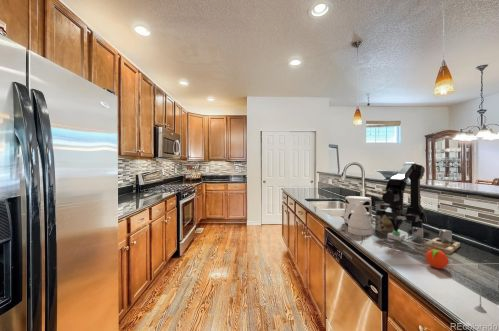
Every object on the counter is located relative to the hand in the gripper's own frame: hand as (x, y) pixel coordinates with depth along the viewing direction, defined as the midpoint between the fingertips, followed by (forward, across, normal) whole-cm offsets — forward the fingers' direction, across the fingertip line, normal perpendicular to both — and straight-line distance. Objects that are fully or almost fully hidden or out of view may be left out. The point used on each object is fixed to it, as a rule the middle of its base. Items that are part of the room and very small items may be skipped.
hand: (396, 231), depth 120 cm
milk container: (+5, -27, +11) cm, 30 cm away
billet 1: (+4, +8, +4) cm, 10 cm away
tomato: (+5, +23, -23) cm, 33 cm away
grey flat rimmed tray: (+5, +8, +4) cm, 10 cm away
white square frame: (+5, 0, 0) cm, 5 cm away
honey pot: (+5, -18, -3) cm, 19 cm away
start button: (+3, 0, 0) cm, 3 cm away
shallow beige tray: (+5, +18, +4) cm, 19 cm away
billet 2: (+4, +18, +9) cm, 20 cm away
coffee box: (+5, -11, +13) cm, 18 cm away
